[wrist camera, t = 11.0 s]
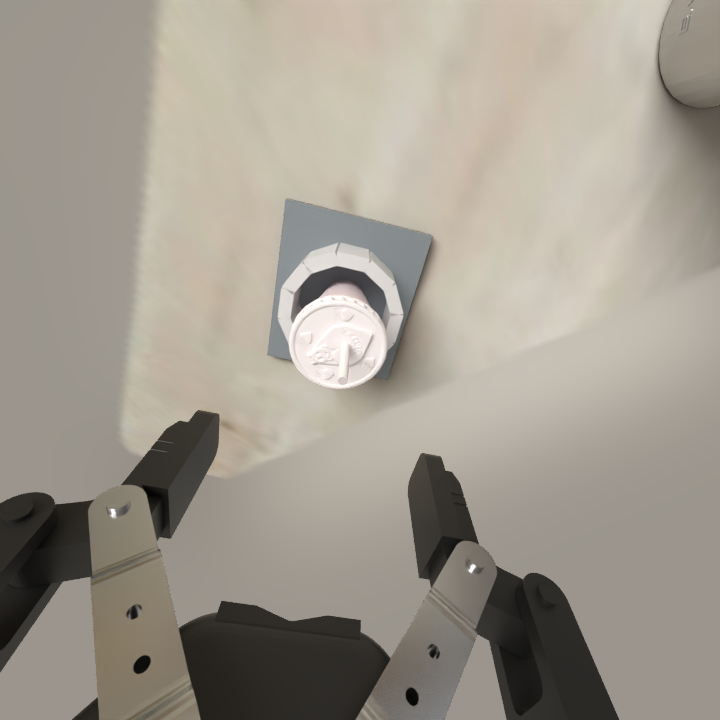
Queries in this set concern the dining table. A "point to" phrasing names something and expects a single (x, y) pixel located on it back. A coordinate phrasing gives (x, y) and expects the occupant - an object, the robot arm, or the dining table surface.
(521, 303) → the dining table surface
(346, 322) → the smoothie
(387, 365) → the holder
